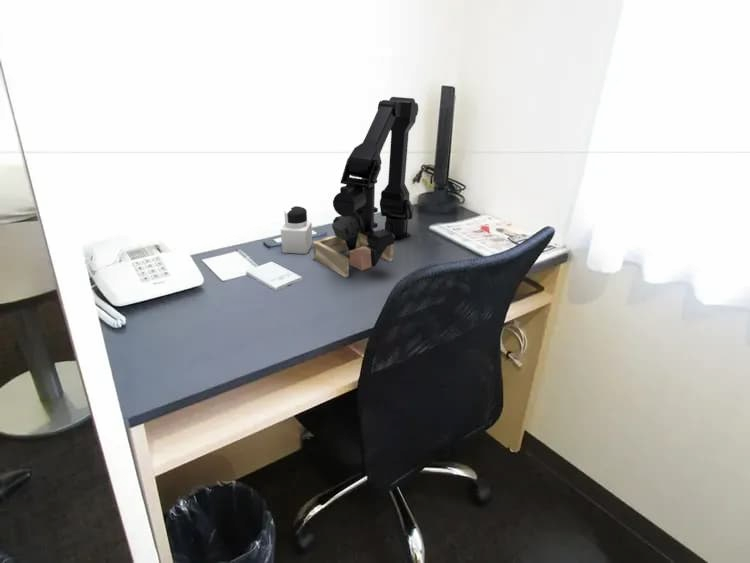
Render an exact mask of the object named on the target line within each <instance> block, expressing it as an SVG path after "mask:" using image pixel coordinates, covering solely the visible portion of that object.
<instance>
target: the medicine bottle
mask: <svg viewBox="0 0 750 563" xmlns="http://www.w3.org/2000/svg"><path fill="white" fill-rule="evenodd" d="M307 211H308V210H307V209H306V208H304V206H303V207H302V206H295V205H294V206H289V207H287V208H285V210H284V224H283V226H282V227H281V229H280V235H281V236H280V237H281V251H282V253H284V254H301V255H308V253H309V251H310V249H311V248H312V247H313V228H312V227H313V225H312V221H308V213H307Z"/></svg>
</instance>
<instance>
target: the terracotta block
mask: <svg viewBox="0 0 750 563" xmlns="http://www.w3.org/2000/svg"><path fill="white" fill-rule="evenodd" d="M348 252H349V253H348V254H349V256H348V258H349V266H350V265H351V266H353V267H354V268H356V269H358V270H359V271H365V270H367V269H369V268H373V267H372V264H371V250H370V249H369V248H367V247H365V246H363V247H360V246H359V247H356V248H355V249H354V250H351V251H349V250H348Z"/></svg>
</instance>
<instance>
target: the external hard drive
mask: <svg viewBox="0 0 750 563" xmlns="http://www.w3.org/2000/svg"><path fill="white" fill-rule="evenodd" d="M245 274H246V276H248V277H250V278H252V279H254V280H255V281H258V282H259V283H261V284H263V285H264V286H266V287H267V288H270V290H273V291H275V292H277V291H279V290H282V289H285V288H287V287H288V286H290V285H294V284H296V283H298V282H300V281H303V276H300V275H299V274H297V273H295V272H293V271H291V270H289V269H287V268H285V267H283V266H282V265H280V264H277V263H275V262H273V261H269V262H267V263H264V264H261V265H258V266H255V267H253V268H250V269H247V270H246V272H245Z"/></svg>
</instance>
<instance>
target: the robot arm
mask: <svg viewBox="0 0 750 563" xmlns="http://www.w3.org/2000/svg"><path fill="white" fill-rule="evenodd" d="M418 113H419V104H418V103H417V102H416V100H415V98H413V97H403V96H402V97H400V96H391V97H390V98H389V100H388V99H383V100H380V101H379V102H378V105H377V110H376V113H375V115H374V118H373V119H372V120H373V121H371V124H370V126H369V128H368V130H367V133H366V134H365V138H364V139H363V141H362V143H360V144H358V145H357V146H355V147H354V148H353V150H352V151H351V153H350V155H349V156H348V157H347V160H346V162H345V166H344V170H343V172H342V177H341V178H340V184H342V185H343V186H341V187H340V189H339V190H340V192H338V193H336V195H335V196H334V198H333V200H332V206H333V209H334V211H335V212H336V213H337V214H338V216H336V217H334V219H333V220H332V224H331V228H332V230H333V232H334V236H336V237H339V238H341V239H342V240H345V241H346V244H347V247H348V250H347V251H348V252H349V251H351V250H354V249H357V247H356V243H357V238H358V233H362V234H364V235H366V236H368V237H367V242H368V244H369V245H367V247H368V248H369V249H370V250H371V264H372V267H371V268H373V267H376V266H377V264H378V262H379V261H380V259H381V258H382V257H381V255H382V253H383V252H384V250H385V249H386V247H387V246H390V245H392V244H393V245H394V244H395V241H398V240H401V239H405V238H408V237H410V236H411V233H409V232H408V224H409V222H408V221H409V220H413V217H414V211H415V209H414V206H413V204H412V202H411V200H410V191H409V188H408V187H407V186H406V170H407V160H408V158H407V156H408V147H409V146H408V145H409V133H410V131H411V129H412V128H413V126H414V125H415V123H416V122H417V120H416V119H417V116H418ZM389 134H390V147H389V148H390V149H389V150H390V151H389V165H388V167H389V168H388V182H387V185H386V186H385V188H384V189H383V190H381V193H380V200H379V208H380V215H381V216H382V217H385V222H384V229H383V228H382V229H380V230H377V231H376V230H374V229H377V228H378V223H377V222H375V214H376V213H378V212H379V208H377V207H375V199H376V198H375V191H376V190H375V187H376V184H377V183H378V176H380V172H381V170H382V169H381V168H382V167H381V166H382V163H383V162H382V158H381V153H382V150H383V148H384V145H385V143H386V141H387V139H388V136H389Z"/></svg>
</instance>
